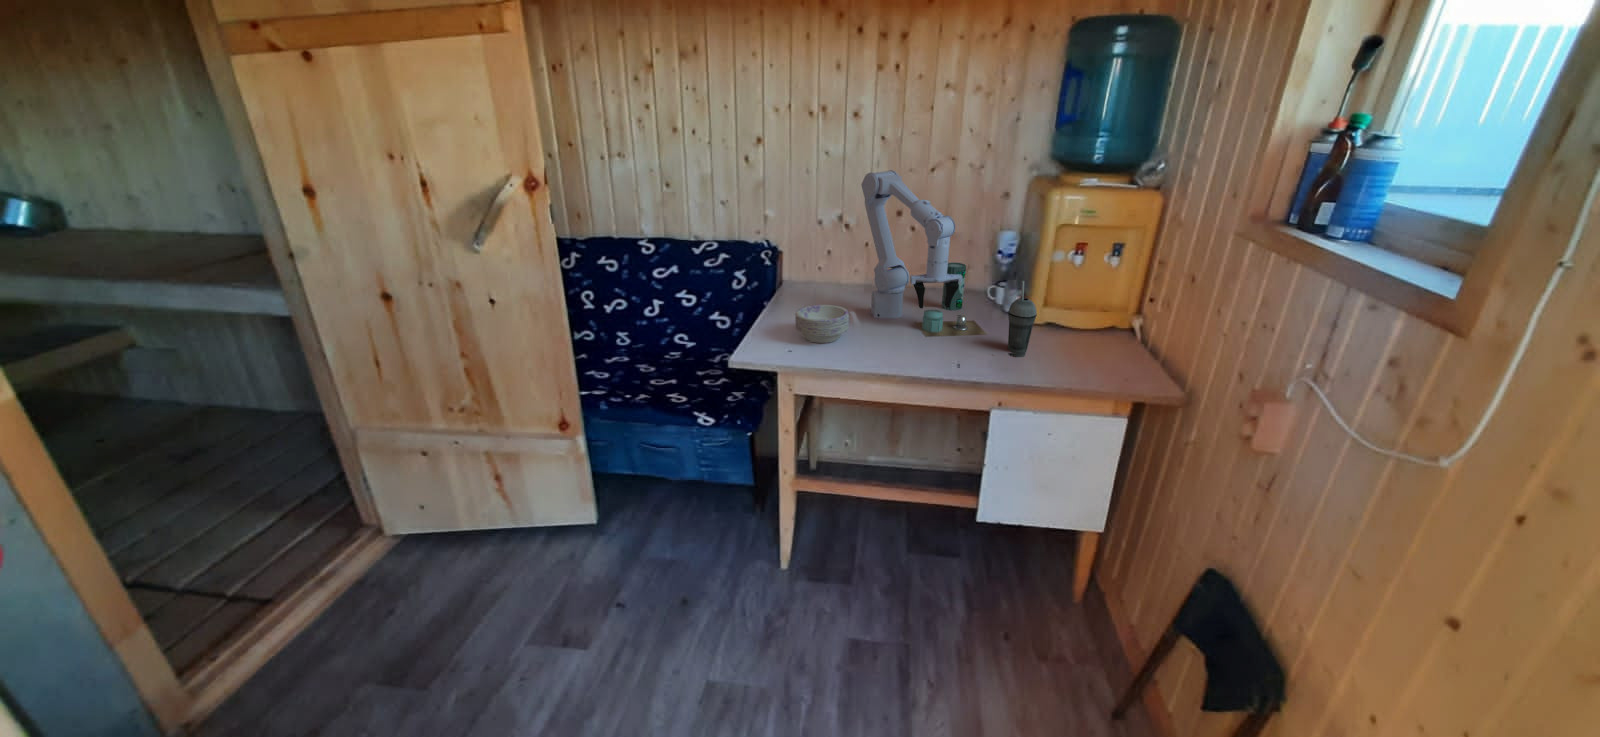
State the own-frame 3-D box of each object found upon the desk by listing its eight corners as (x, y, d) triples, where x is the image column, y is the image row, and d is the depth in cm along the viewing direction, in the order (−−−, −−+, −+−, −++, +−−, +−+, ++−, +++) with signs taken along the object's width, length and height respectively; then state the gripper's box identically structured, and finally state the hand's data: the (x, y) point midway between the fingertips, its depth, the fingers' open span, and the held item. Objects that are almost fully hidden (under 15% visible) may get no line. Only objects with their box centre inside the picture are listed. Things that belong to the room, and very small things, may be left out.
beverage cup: (1016, 361, 172) (1026, 287, 164) (996, 351, 178) (1005, 280, 170) (1036, 356, 175) (1047, 283, 167) (1016, 347, 181) (1026, 276, 173)
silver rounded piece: (955, 330, 190) (956, 319, 188) (951, 325, 194) (952, 314, 192) (970, 330, 190) (971, 318, 189) (965, 325, 194) (966, 313, 193)
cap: (925, 332, 189) (926, 315, 187) (920, 326, 194) (921, 309, 192) (943, 331, 189) (945, 315, 187) (938, 325, 194) (940, 309, 192)
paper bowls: (811, 325, 198) (811, 300, 195) (857, 334, 191) (858, 308, 188) (785, 341, 186) (785, 315, 183) (833, 351, 179) (833, 324, 176)
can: (962, 313, 207) (967, 267, 201) (943, 313, 207) (947, 267, 201) (958, 307, 213) (963, 262, 207) (940, 307, 213) (944, 262, 207)
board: (925, 340, 186) (925, 336, 186) (915, 326, 197) (915, 322, 197) (987, 338, 187) (987, 334, 187) (973, 324, 198) (973, 320, 198)
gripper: (915, 265, 179) (912, 312, 184) (967, 263, 180) (962, 310, 185) (909, 258, 185) (906, 304, 191) (959, 257, 186) (955, 302, 192)
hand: (934, 307), depth 189 cm, fingers open, 7 cm apart
